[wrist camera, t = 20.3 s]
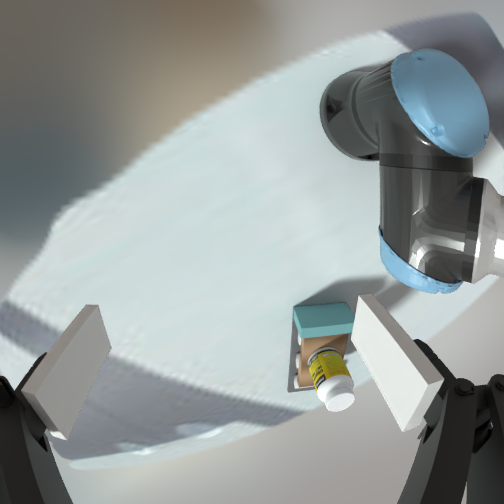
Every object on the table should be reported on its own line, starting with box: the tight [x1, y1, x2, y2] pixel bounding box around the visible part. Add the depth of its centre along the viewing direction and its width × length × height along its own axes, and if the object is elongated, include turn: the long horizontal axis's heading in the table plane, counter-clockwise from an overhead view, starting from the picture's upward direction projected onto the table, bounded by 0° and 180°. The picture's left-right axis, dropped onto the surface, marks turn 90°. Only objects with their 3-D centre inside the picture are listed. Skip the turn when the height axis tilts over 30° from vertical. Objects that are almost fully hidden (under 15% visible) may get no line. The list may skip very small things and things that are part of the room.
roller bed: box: [288, 302, 355, 392], centre depth 50 cm, size 22×10×7 cm, turn 1°
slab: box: [297, 333, 348, 388], centre depth 48 cm, size 13×8×2 cm, turn 1°
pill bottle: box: [308, 347, 355, 412], centre depth 42 cm, size 6×6×11 cm
